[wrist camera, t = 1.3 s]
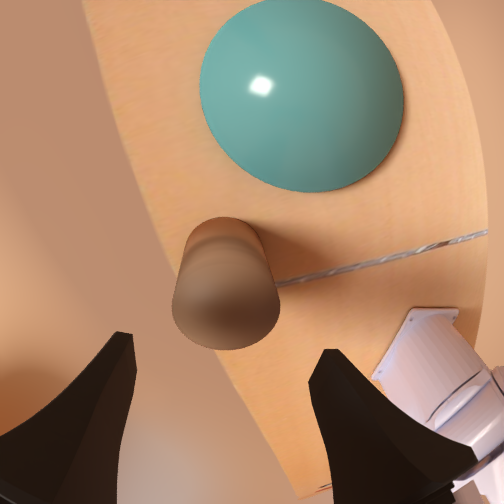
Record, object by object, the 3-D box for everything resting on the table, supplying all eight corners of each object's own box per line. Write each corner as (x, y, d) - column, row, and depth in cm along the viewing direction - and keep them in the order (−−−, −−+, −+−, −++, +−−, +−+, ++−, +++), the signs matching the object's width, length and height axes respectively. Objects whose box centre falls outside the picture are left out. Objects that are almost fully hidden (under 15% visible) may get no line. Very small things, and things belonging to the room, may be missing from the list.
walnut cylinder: (254, 290, 19) (267, 352, 14) (182, 282, 19) (171, 344, 13) (269, 223, 17) (292, 271, 12) (188, 212, 17) (174, 257, 11)
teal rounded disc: (370, 204, 17) (379, 209, 16) (185, 170, 15) (182, 174, 14) (403, 44, 13) (413, 41, 11) (224, -13, 10) (225, -21, 9)
